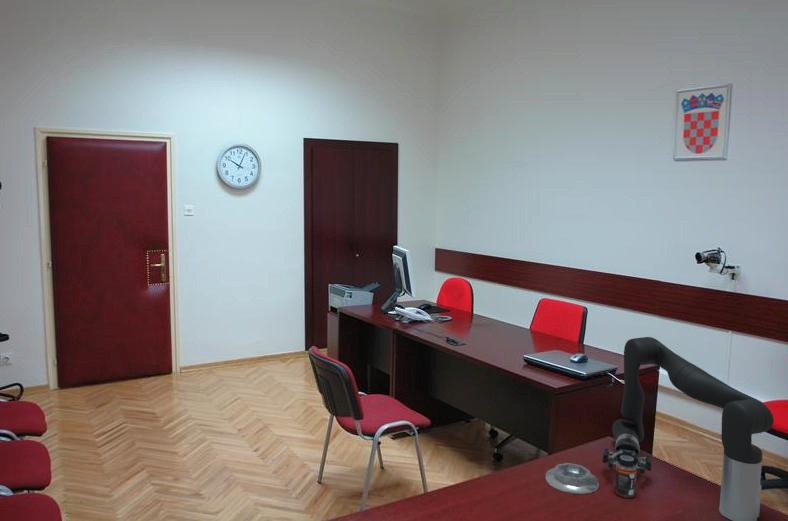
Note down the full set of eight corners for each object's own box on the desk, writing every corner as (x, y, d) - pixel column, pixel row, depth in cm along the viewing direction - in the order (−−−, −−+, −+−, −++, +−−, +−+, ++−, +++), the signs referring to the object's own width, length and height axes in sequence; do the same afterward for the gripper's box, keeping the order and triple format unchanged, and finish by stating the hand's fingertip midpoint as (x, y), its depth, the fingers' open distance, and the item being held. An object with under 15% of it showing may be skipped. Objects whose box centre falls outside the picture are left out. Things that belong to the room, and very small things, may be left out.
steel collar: (575, 466, 193) (575, 456, 192) (610, 488, 178) (610, 477, 178) (535, 474, 186) (535, 464, 186) (567, 498, 172) (568, 487, 171)
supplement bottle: (637, 499, 171) (639, 463, 170) (616, 497, 173) (618, 461, 171) (633, 490, 177) (635, 454, 176) (612, 487, 178) (614, 452, 177)
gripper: (605, 434, 195) (602, 453, 180) (651, 441, 190) (652, 461, 175) (604, 455, 196) (601, 476, 181) (650, 463, 191) (650, 485, 176)
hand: (626, 469), depth 178 cm, fingers open, 8 cm apart
